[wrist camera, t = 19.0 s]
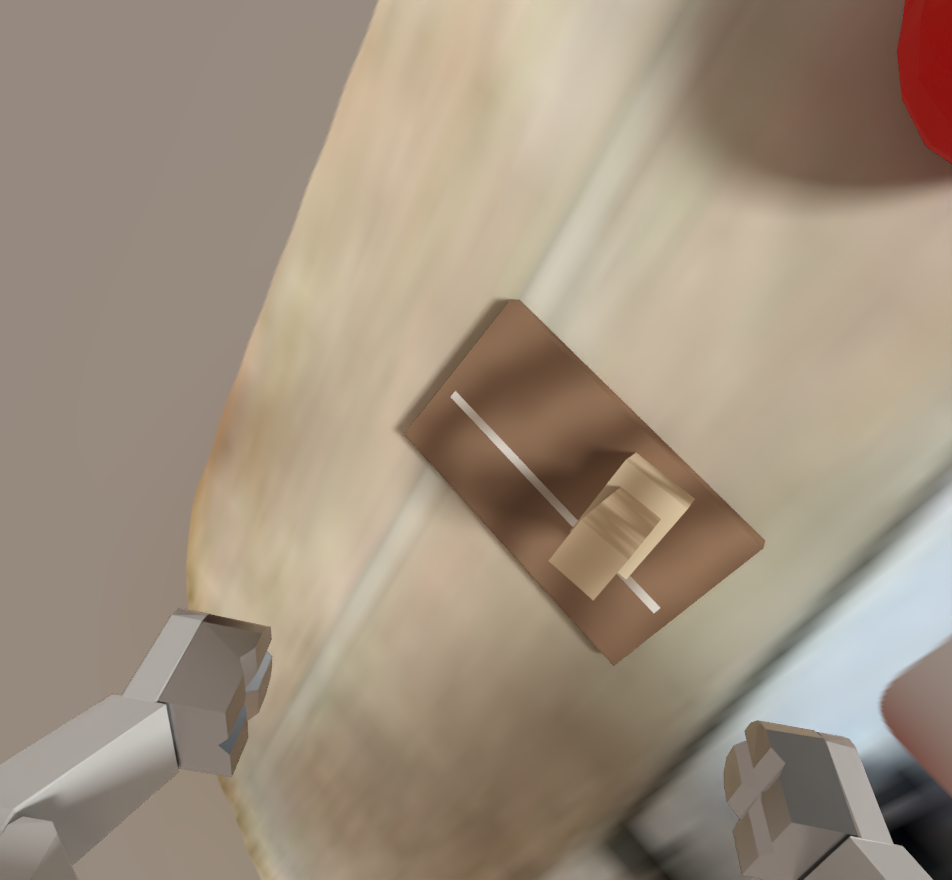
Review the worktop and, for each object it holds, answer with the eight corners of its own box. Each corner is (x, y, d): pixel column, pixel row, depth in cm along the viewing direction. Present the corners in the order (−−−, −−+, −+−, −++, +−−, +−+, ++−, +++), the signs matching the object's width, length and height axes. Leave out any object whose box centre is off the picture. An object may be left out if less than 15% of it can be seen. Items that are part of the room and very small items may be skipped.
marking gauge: (695, 498, 40) (659, 548, 32) (636, 566, 43) (588, 629, 34) (636, 452, 42) (586, 488, 33) (582, 520, 44) (522, 570, 35)
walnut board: (765, 540, 40) (763, 548, 39) (619, 655, 46) (613, 666, 45) (519, 300, 45) (510, 299, 44) (415, 431, 51) (404, 433, 49)
